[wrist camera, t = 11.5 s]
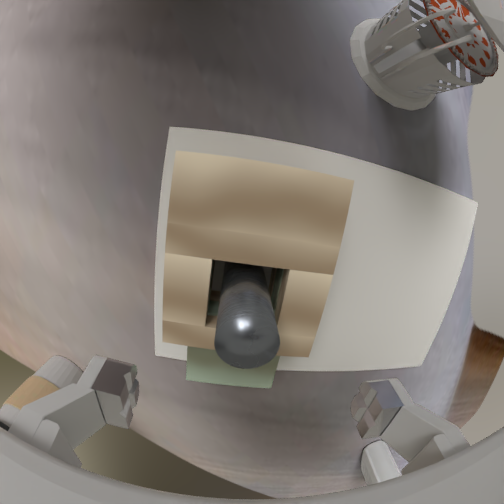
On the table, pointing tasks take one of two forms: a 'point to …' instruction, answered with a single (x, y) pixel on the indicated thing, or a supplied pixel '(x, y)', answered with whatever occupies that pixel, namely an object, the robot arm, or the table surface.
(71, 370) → the coffee cup
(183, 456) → the table surface
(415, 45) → the french press
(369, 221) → the mat
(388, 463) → the white rounded slab
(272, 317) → the pin
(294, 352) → the clevis
